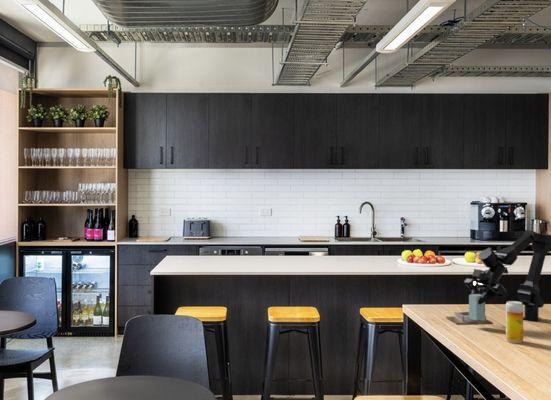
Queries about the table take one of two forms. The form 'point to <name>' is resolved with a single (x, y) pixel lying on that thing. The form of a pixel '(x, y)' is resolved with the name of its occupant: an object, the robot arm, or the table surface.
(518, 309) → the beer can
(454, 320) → the brown framed base board
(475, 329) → the table surface
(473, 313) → the pale blue box
